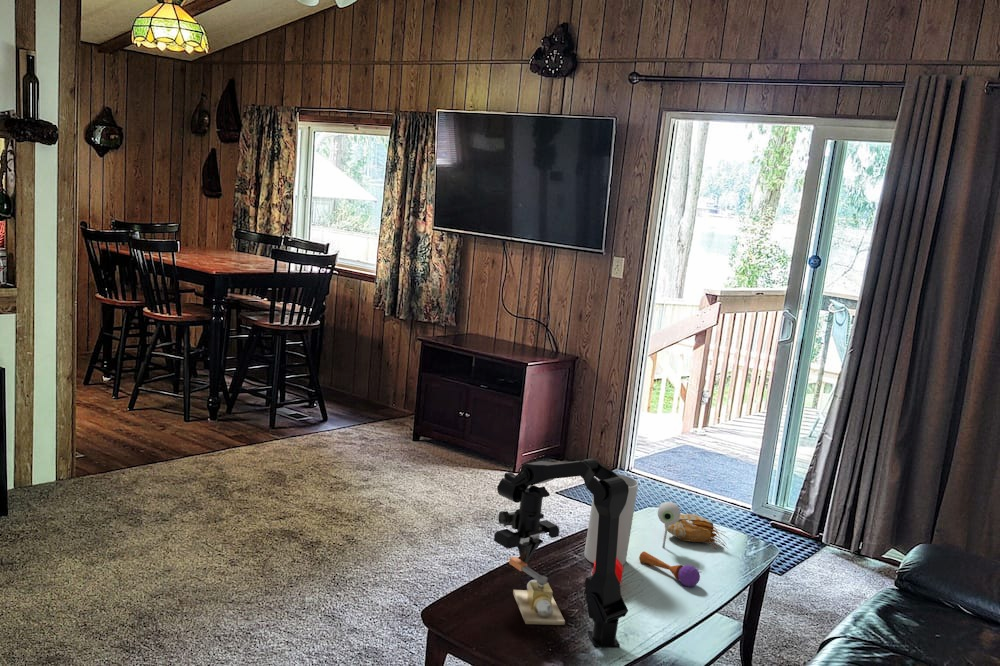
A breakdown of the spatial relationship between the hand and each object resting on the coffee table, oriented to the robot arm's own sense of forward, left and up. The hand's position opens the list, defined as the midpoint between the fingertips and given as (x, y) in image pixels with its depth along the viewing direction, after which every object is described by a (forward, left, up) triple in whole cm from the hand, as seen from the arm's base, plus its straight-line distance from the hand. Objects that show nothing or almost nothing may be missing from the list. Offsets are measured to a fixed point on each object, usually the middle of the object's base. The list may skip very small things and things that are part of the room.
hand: (523, 564), depth 229 cm
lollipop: (+33, -54, -8) cm, 64 cm away
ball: (+5, -26, -8) cm, 27 cm away
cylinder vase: (+22, -31, -8) cm, 39 cm away
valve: (-10, -3, -8) cm, 13 cm away
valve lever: (-5, 0, -1) cm, 5 cm away
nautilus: (+39, -67, -8) cm, 78 cm away
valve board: (-10, -3, -8) cm, 13 cm away
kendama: (+14, -48, -8) cm, 50 cm away
